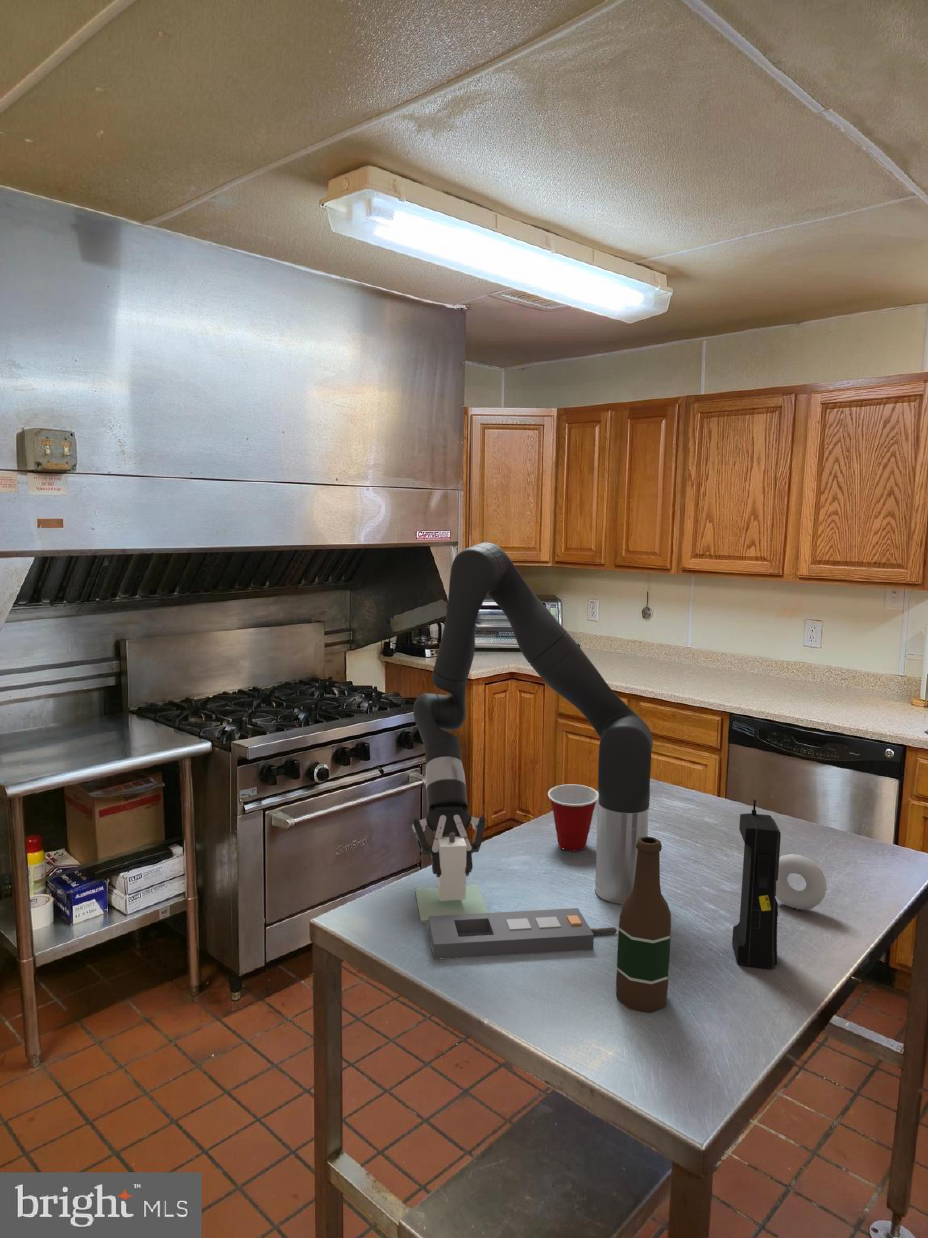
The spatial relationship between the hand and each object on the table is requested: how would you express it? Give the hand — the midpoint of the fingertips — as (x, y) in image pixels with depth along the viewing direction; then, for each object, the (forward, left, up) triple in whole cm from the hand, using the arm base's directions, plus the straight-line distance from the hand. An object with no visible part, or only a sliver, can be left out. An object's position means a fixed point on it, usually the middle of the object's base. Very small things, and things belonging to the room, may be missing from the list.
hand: (453, 874), depth 139 cm
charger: (0, -2, -5) cm, 5 cm away
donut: (-62, +6, -7) cm, 63 cm away
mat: (0, -2, -6) cm, 7 cm away
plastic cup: (-29, -25, -7) cm, 39 cm away
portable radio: (-46, +21, -7) cm, 51 cm away
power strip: (-11, +11, -6) cm, 17 cm away
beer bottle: (-24, +29, -7) cm, 38 cm away
